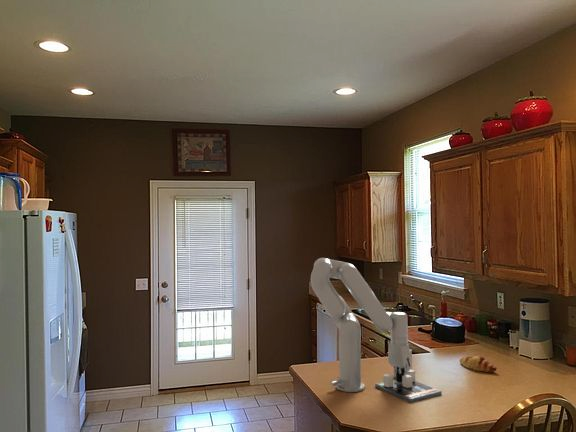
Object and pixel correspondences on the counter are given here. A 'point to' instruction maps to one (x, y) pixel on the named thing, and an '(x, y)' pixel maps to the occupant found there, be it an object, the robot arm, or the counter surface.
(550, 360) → the counter surface
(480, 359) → the croissant
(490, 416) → the counter surface
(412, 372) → the block
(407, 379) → the block
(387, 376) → the block
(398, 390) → the panel
